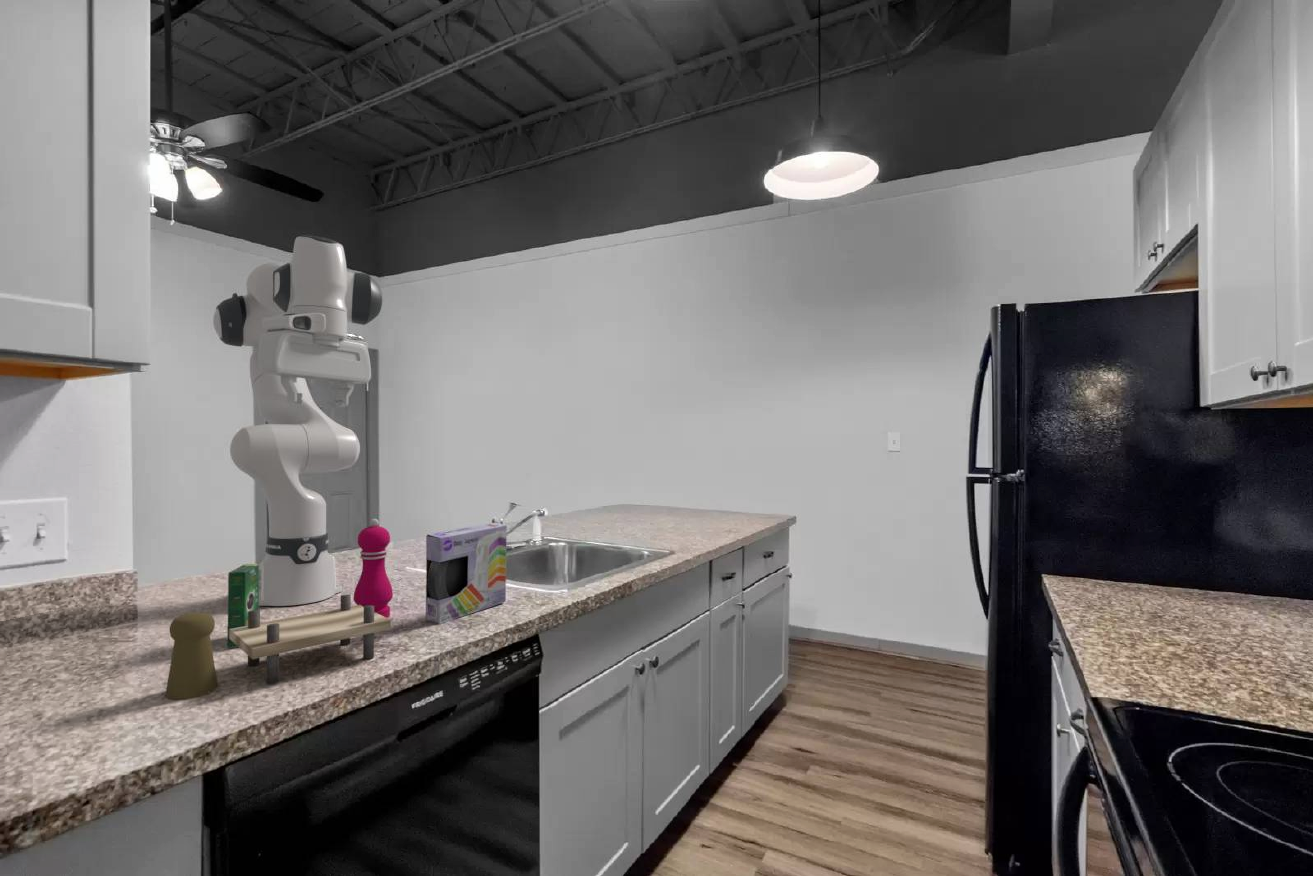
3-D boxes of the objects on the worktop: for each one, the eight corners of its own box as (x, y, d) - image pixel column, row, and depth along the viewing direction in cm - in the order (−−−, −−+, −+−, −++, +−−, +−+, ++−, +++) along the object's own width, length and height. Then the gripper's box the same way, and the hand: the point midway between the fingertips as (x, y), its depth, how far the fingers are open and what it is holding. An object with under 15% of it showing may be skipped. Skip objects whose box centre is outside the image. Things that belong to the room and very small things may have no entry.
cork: (188, 682, 92) (188, 608, 92) (227, 683, 92) (228, 609, 92) (153, 699, 86) (154, 620, 86) (196, 700, 86) (196, 621, 86)
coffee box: (241, 634, 114) (242, 563, 114) (259, 632, 115) (260, 562, 115) (225, 648, 106) (226, 572, 106) (244, 647, 107) (245, 571, 107)
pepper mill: (377, 623, 121) (378, 521, 121) (345, 621, 123) (346, 520, 122) (400, 613, 128) (400, 517, 128) (369, 611, 130) (370, 515, 130)
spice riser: (229, 666, 98) (229, 613, 98) (359, 637, 113) (359, 591, 113) (252, 690, 89) (252, 631, 89) (390, 655, 104) (390, 605, 104)
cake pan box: (435, 626, 120) (436, 535, 120) (419, 622, 123) (420, 533, 123) (508, 604, 136) (508, 523, 136) (491, 600, 139) (492, 522, 139)
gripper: (355, 337, 121) (354, 408, 121) (251, 318, 102) (251, 402, 102) (379, 335, 118) (379, 407, 118) (278, 315, 100) (277, 401, 99)
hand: (319, 405), depth 110 cm, fingers open, 8 cm apart
